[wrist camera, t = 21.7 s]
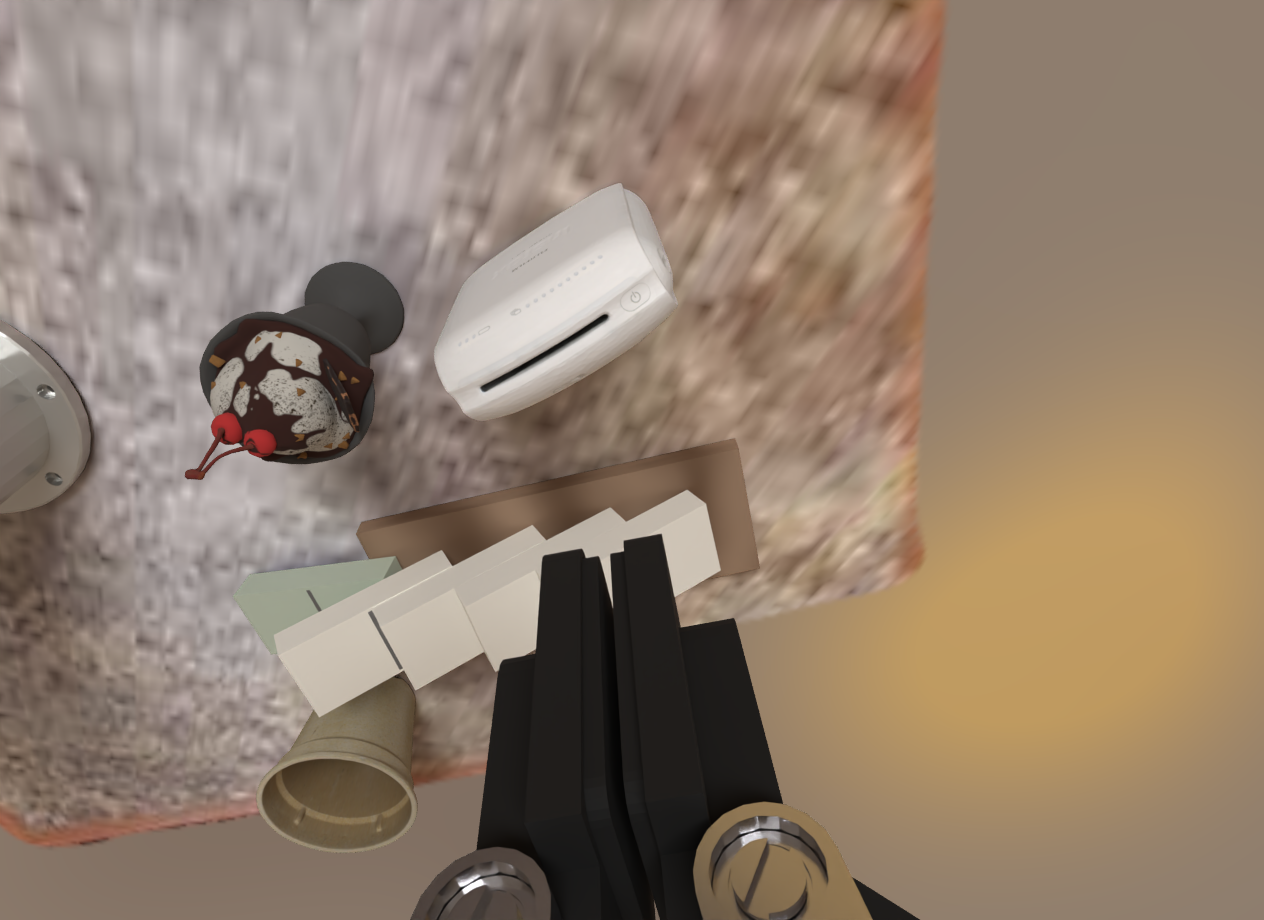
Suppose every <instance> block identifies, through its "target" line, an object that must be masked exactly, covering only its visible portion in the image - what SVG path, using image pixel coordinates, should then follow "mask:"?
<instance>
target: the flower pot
mask: <svg viewBox="0 0 1264 920" xmlns="http://www.w3.org/2000/svg"><path fill="white" fill-rule="evenodd" d="M414 715H415V696H414V694H413V691H412V690H411V688H410V687H409V685H408V684H407V683H406V682H405V681H404V680H403V679H400V678H395V677H391V678H389V679H388V680H386V681H384V682H382V683H380V684H379V685H377V686H375V687H373V688H371V689H370V690H368V691H366V692H364V693H362V694H360V695H359V696H357V697H355V698H353V699H351V700H350V701H348V702H346V703H344V704H342V705H341V706H339V707H337V708H335V709H333V710H332V711H330V712H328V713H326V714H324V715H323V716H321V717H319V716H318V715H317V713H316V712H315V710H313V712H312V714H311V716H310V717H309V719H308V721H307V723H306V724H305V726H304V728H303V729H302V731H301V733H300V734H299V736H298V738H297V740H296V741H295V743H294V745H293V746H292V748H291V750H290V751H289V752H288V753H286V754H285V755H284V756H283V757H282V758H281V760H280V761H279V762H278V764H277V765H276V766H275V767H273V768H272V769H271V770H270V771H269V772H268V773H267V774H266V775H265V776H264V778H263V779H262V781H261V783H260V785H259V787H258V790H257V793H256V801H257V807H258V809H259V812H260V814H261V816H262V817H263V818H264V820H265V821H266V822H267V823H268V825H269V826H270V827H271V828H272V829H273V830H275V831H276V832H277V833H279V834H280V835H281V836H283V837H285V838H286V839H288V840H290V841H293V842H294V843H296V844H300V845H302V846H305V847H308V848H312V849H316V850H320V851H326V852H335V853H348V852H349V853H352V852H355V853H356V852H362V851H368V850H372V849H376V848H379V847H382V846H385V845H388V844H390V843H392V842H394V841H395V840H397V839H399V838H400V837H401V836H402V835H404V834H405V833H406V832H407V831H408V830H409V829H410V828H411V827H412V825H413V823H414V821H415V819H416V814H417V798H416V795H415V793H414V791H413V788H414V786H413V779H412V776H411V761H412V744H413V729H414Z"/></svg>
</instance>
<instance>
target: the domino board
mask: <svg viewBox="0 0 1264 920" xmlns="http://www.w3.org/2000/svg"><path fill="white" fill-rule="evenodd" d="M686 490H688V491H689V492H691V493H692V494H694V495H695V496H696V497H698V498H699V499H700V500H702V501H703V502H704V503H706V506H707V511H708V515H709V520H710V524H711V529H712V533H713V538H714V542H715V546H716V551H717V555H718V560H719V564H720V569H721V571H719V572H717V573H716V574H714V575H712V576H710V577H709V578H707V579H712V578H717V577H721V576H726V575H731V574H736V573H740V572H745V571H750V570H754V569H759V568H760V566H759V560H758V554H757V549H756V543H755V538H754V532H753V526H752V521H751V515H750V510H749V504H748V499H747V493H746V487H745V482H744V476H743V471H742V465H741V459H740V454H739V448H738V446H737V443H736V440H735V439H730V440H726V441H721V442H717V443H712V444H708V445H703V446H699V447H694V448H690V449H686V450H681V451H677V452H672V453H668V454H663V455H659V456H654V457H650V458H645V459H641V460H636V461H632V462H628V463H623V464H619V465H614V466H610V467H605V468H601V469H596V470H592V471H587V472H583V473H579V474H574V475H570V476H565V477H561V478H556V479H552V480H547V481H543V482H538V483H534V484H529V485H525V486H521V487H516V488H512V489H507V490H503V491H498V492H494V493H489V494H485V495H480V496H476V497H472V498H467V499H463V500H458V501H454V502H449V503H445V504H440V505H436V506H431V507H427V508H422V509H418V510H414V511H409V512H405V513H400V514H396V515H391V516H387V517H382V518H378V519H373V520H369V521H365V522H361V524H360V526H359V529H358V531H357V533H356V535H357V537H358V539H359V541H360V542H361V544H362V546H363V548H364V550H365V552H366V554H367V556H368V558H369V559H376V558H384V557H392V556H396V558H397V560H398V562H399V564H400V566H401V568H402V570H403V569H405V568H407V567H409V566H411V565H413V564H415V563H417V562H419V561H421V560H423V559H425V558H427V557H429V556H431V555H433V554H435V553H437V552H439V551H441V550H442V551H443V553H444V554H445V556H446V557H447V559H448V560H449V562H450V564H451V565H452V566H454V565H456V564H458V563H460V562H462V561H464V560H466V559H468V558H470V557H471V556H473V555H475V554H477V553H479V552H481V551H483V550H485V549H487V548H489V547H491V546H493V545H495V544H497V543H498V542H500V541H502V540H504V539H506V538H508V537H510V536H512V535H514V534H516V533H518V532H520V531H522V530H524V529H525V528H527V527H529V526H531V525H533V526H534V527H535V528H536V529H537V531H538V532H539V533H540V534H541V535H542V536H543V537H544V538H545V539H546V540H548V539H550V538H552V537H554V536H556V535H558V534H560V533H562V532H564V531H565V530H567V529H569V528H571V527H573V526H575V525H577V524H579V523H581V522H583V521H585V520H587V519H589V518H590V517H592V516H594V515H596V514H598V513H600V512H602V511H604V510H606V509H608V508H610V507H611V508H612V509H613V510H614V511H615V512H616V513H617V514H618V515H619V516H620V517H622V518H623V519H624V520H625V521H626V522H627V521H629V520H631V519H633V518H635V517H636V516H638V515H640V514H642V513H644V512H646V511H648V510H650V509H652V508H653V507H655V506H657V505H659V504H661V503H663V502H665V501H667V500H669V499H670V498H672V497H674V496H676V495H678V494H680V493H682V492H684V491H686ZM707 579H705V580H707Z"/></svg>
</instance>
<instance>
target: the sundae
mask: <svg viewBox="0 0 1264 920" xmlns="http://www.w3.org/2000/svg"><path fill="white" fill-rule="evenodd" d="M403 320H404V309H403V305H402V302H401V299H400V297H399V295H398V293H397V290H396V289H395V288H394V287H393V285H392V284H391V283H390V282H389V281H388V280H387V279H386V278H385V277H384V276H383V275H382V274H380V273H379V272H377V271H376V270H374V269H372V268H370V267H368V266H366V265H362V264H358V263H352V262H340V263H334V264H331V265H328V266H325V267H324V268H322V269H321V270H319V271H318V272H317V273H316V274H315V275H314V276H313V277H312V278H311V280H310V282H309V284H308V286H307V289H306V292H305V306H303V307H300V308H297V309H294V310H291V311H289V312H287V313H285V314H279V313H275V312H255V313H251V314H247V315H244V316H242V317H240V318H238V319H235V320H233V321H232V322H230V323H229V324H228V325H227V326H225V327H224V328H223V329H221V330H220V331H219V332H218V333H217V334H216V336H215V337H214V338H213V339H212V340H211V341H210V342H209V344H208V346H207V348H206V350H205V352H204V354H203V357H202V361H201V364H200V381H201V385H202V389H203V393H204V395H205V397H206V399H207V401H208V403H209V405H210V406H211V408H212V410H213V413H214V416H215V419H214V420H213V421H212V425H211V429H212V434H213V435H214V437H215V440H214V442H213V444H212V446H211V447H210V449H209V451H208V452H207V454H206V455H205V457H204V459H203V461H202V462H201V464H200V466H199V467H198V468H197V469H190V470H187V471H186V472H185V477H186V478H187V479H198V480H202V479H203V478H204V476H205V473H206V472H207V471H208V470H209V469H210V468H211V466H212V465H213V464H214V463H215V462H216V461H217V460H219V459H220V458H222V457H224V456H226V455H229V454H231V453H236V452H240V451H244V450H248V452H249V453H250V454H252V455H254V456H257V457H259V458H262V459H263V460H264V461H271V462H272V461H274V462H280V463H288V464H311V463H318V462H323V461H328V460H332V459H335V458H338V457H341V456H343V455H345V454H347V453H348V452H350V451H351V450H352V449H354V448H355V447H356V446H357V445H358V444H360V442H361V440H362V439H363V437H364V436H365V434H366V433H367V430H368V428H369V426H370V424H371V421H372V417H373V411H374V402H375V390H374V384H373V377H374V373H373V370H372V369H370V368H369V366H370V354H372V353H376V352H379V351H382V350H384V349H385V348H387V347H388V346H390V345H391V344H392V343H393V342H394V341H395V340H396V339H397V337H398V335H399V334H400V331H401V329H402V327H403ZM219 442H221V443H223V444H225V445H234V444H236V443H239V444H240V445H242V446H243V447H239V448H236V449H232V450H229V451H227V452H224V453H223V454H221V455H219V456H217V457H216V458H215V459H214V460H213V461H212V462H210V463H209V464H208V465H207V467H206V468H205V469H204V470H202V468H203V466H204V465H205V463H206V462H207V460H208V458H209V457H210V455H211V454H212V453H213V451H214V450H215V448H216V447H217V445H218V443H219ZM201 470H202V471H201Z"/></svg>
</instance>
